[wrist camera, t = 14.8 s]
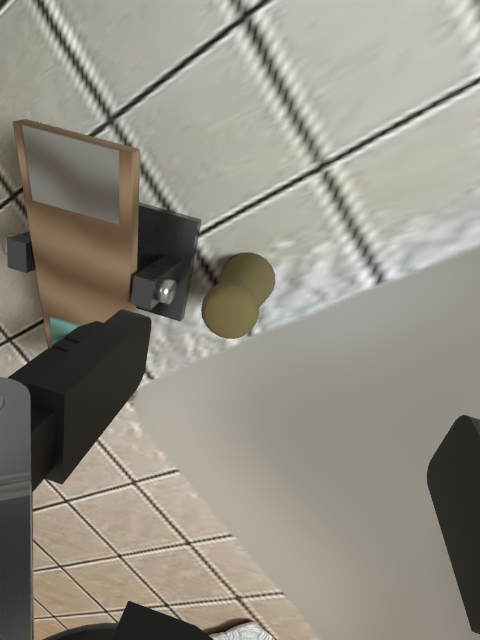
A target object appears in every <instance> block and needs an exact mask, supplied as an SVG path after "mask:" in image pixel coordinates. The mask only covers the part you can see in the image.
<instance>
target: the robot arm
mask: <svg viewBox="0 0 480 640" xmlns="http://www.w3.org/2000/svg"><path fill="white" fill-rule="evenodd" d="M150 332H151V319H150V317H147V316H144V315H141V314H137V313H134V312H131V311H128V310H124V309H121V310H119V311H118V312H117V313H116V314H114V315H113V316H112V317H111V318H109V319H108V320H107V321H105V322H104V323H103V322H99V321H95V322H91V323H88V324H85V325H82V326H79V327H77V328H76V329H74V330H73V331H71V332H70V333H69V334H67V335H66V336H65V337H64V339H60V340H59V341H58V342H56V343H55V344H53V345H52V348H50V347H49V348H48V349H47V350H45V351H44V352H42V353H41V354H40V355H38V356H37V357H36V358H34V359H33V360H31V361H30V362H29V363H27V364H26V365H25V366H23V367H22V368H20V369H19V370H18V371H16V372H15V373H14V374H12V375H11V376H9V377H8V378H3V377H0V640H34V594H33V493H32V492H33V491H34V490H35V489H36V488H37V486H38V485H39V484H40V483H41V482H42V481H43V479H44V478H45V479H48V480H51V481H54V482H56V483H59V484H63V483H64V482H65V480H66V479H67V478H68V477H69V475H70V474H71V473H72V471H73V470H74V469H75V468H76V466H77V465H78V464H79V462H80V461H81V460H82V459H83V457H84V456H85V455H86V453H87V452H88V451H89V450H90V448H91V447H92V446H93V445H94V443H95V442H96V441H97V439H98V438H99V437H100V436H101V434H102V433H103V432H104V430H105V429H106V428H107V427H108V425H109V424H110V423H111V421H112V420H113V419H114V418H115V416H116V415H117V414H118V412H119V411H120V410H121V409H122V407H123V406H124V405H125V403H126V402H127V401H128V400H129V398H130V397H131V396H132V395H133V393H134V392H135V391H136V389H137V388H138V386H139V384H140V382H141V380H142V377H143V375H144V371H145V367H146V360H147V353H148V346H149V339H150ZM427 484H428V488H429V491H430V494H431V497H432V501H433V504H434V508H435V511H436V514H437V517H438V521H439V524H440V527H441V531H442V534H443V537H444V540H445V544H446V547H447V551H448V554H449V557H450V560H451V564H452V567H453V570H454V574H455V577H456V580H457V584H458V587H459V590H460V593H461V596H462V600H463V603H464V606H465V610H466V613H467V617H468V620H469V623H470V626H471V630H472V631H473V632H475V633H478V634H480V420H479V419H476V418H473V417H469V416H466V415H462V416H460V417H459V418H458V419H457V420H456V421H455V422H454V424H453V425H452V427H451V428H450V430H449V432H448V434H447V435H446V436H445V438H444V440H443V441H442V443H441V444H440V446H439V448H438V449H437V451H436V452H435V454H434V456H433V457H432V459H431V461H430V463H429V466H428V471H427ZM43 640H214V639H213V638H211V637H210V636H209V635H207V634H206V633H205V632H203V631H202V630H201V629H199V628H198V627H197V626H195V625H192V624H189V623H187V622H184V621H181V620H179V619H176V618H173V617H171V616H168V615H165V614H163V613H160V612H157V611H155V610H152V609H149V608H147V607H144V606H141V605H139V604H136V603H133V602H131V601H128V603H127V605H126V608H125V610H124V612H123V614H122V617H121V619H120V621H119V623H100V624H91V625H85V626H81V627H76V628H72V629H68V630H65V631H63V632H60V633H58V634H55V635H52V636H50V637H47V638H45V639H43Z"/></svg>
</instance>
